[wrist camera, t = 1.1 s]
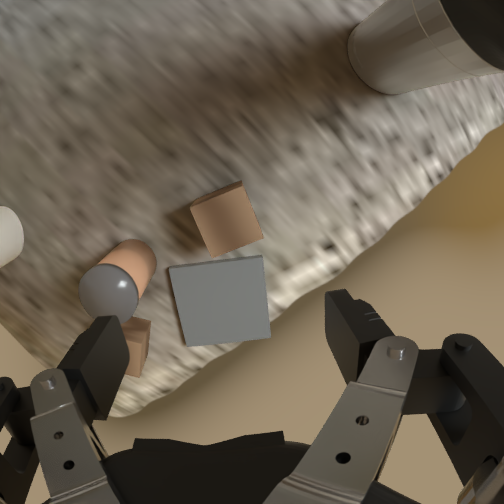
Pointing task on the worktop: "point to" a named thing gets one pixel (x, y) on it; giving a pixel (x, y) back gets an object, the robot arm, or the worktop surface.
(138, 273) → the tan jar
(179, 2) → the worktop surface
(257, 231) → the block
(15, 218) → the cylindrical container
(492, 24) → the robot arm
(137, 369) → the block
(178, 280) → the coaster
